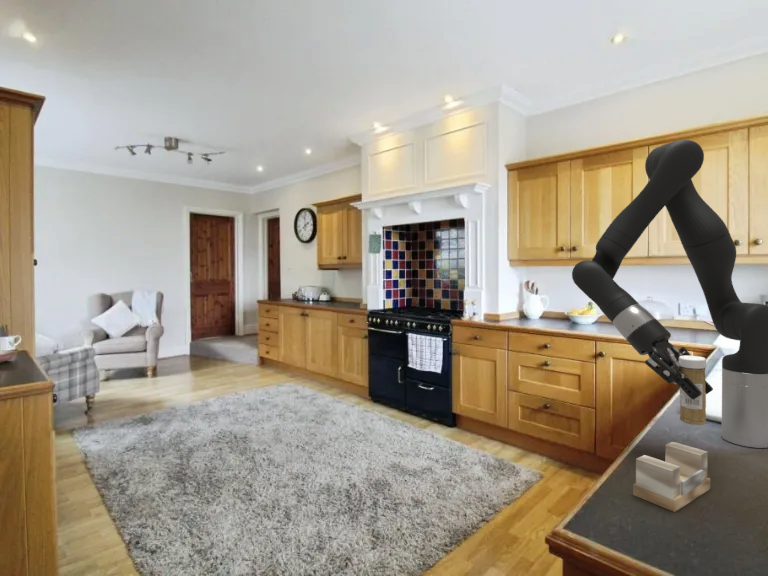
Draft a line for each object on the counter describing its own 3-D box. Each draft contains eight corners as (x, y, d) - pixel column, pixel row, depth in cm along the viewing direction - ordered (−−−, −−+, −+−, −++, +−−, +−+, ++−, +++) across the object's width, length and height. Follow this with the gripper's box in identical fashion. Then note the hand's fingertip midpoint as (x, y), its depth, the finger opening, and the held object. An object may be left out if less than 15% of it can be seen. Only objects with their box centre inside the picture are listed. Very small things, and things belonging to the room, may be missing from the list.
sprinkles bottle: (710, 422, 88) (710, 357, 87) (700, 427, 85) (700, 360, 85) (684, 416, 92) (684, 353, 91) (674, 421, 89) (674, 356, 89)
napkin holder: (669, 474, 88) (669, 440, 87) (710, 488, 82) (710, 452, 82) (633, 494, 80) (633, 457, 80) (674, 512, 74) (674, 472, 74)
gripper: (635, 321, 90) (702, 391, 80) (669, 315, 98) (734, 378, 88) (610, 343, 95) (671, 411, 85) (644, 335, 102) (704, 397, 93)
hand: (703, 394), depth 87 cm, fingers closed on sprinkles bottle, 4 cm apart
